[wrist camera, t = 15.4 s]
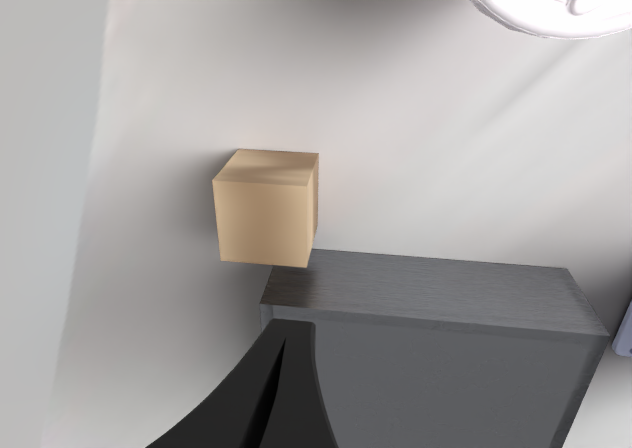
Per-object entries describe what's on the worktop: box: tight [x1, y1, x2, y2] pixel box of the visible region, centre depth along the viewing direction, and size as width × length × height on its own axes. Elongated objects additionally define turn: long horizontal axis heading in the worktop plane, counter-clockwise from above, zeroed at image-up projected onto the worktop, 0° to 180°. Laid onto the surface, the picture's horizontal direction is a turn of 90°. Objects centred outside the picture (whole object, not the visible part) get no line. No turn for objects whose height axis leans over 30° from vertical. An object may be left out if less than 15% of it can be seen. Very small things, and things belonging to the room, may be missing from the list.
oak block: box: [212, 149, 319, 268], centre depth 21 cm, size 4×4×4 cm
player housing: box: [260, 249, 610, 448], centre depth 25 cm, size 15×12×5 cm
